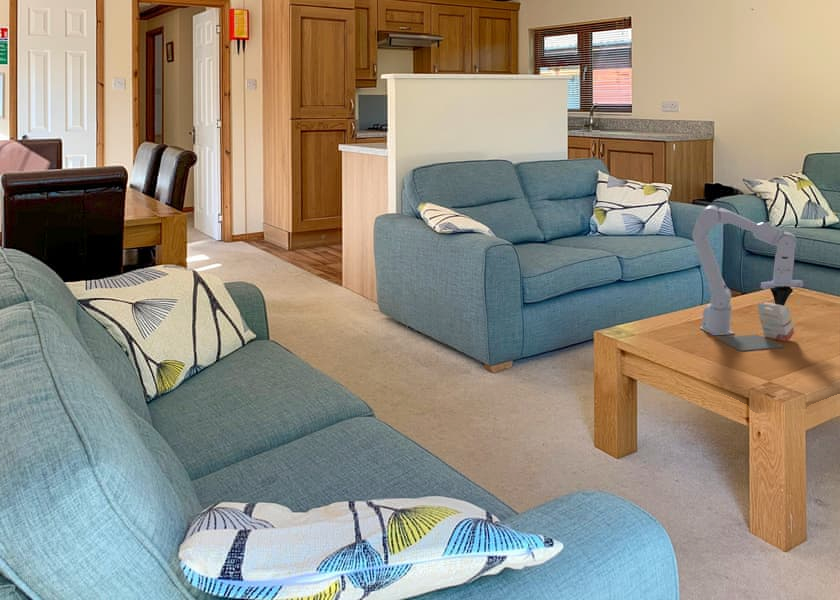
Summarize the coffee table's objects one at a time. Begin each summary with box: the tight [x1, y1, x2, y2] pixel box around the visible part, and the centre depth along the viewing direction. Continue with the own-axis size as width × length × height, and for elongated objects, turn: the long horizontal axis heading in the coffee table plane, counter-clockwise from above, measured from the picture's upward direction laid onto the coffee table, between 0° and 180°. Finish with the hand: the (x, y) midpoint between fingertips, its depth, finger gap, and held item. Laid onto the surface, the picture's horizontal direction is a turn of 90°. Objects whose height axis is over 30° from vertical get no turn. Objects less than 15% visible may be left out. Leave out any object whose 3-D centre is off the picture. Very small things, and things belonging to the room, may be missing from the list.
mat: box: [716, 334, 785, 352], centre depth 255 cm, size 14×16×1 cm
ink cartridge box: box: [756, 301, 795, 342], centre depth 257 cm, size 9×5×15 cm
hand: (779, 308), depth 258 cm, fingers closed
